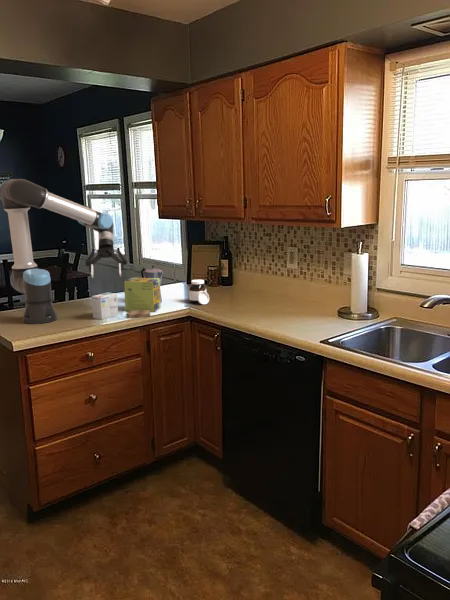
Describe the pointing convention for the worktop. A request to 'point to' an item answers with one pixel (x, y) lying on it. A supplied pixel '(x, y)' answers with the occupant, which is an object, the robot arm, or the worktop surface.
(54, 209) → the robot arm
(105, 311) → the light bulb box
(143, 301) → the protein box
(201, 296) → the spread jar
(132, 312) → the walnut coaster board
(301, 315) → the worktop surface
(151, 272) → the moka pot
